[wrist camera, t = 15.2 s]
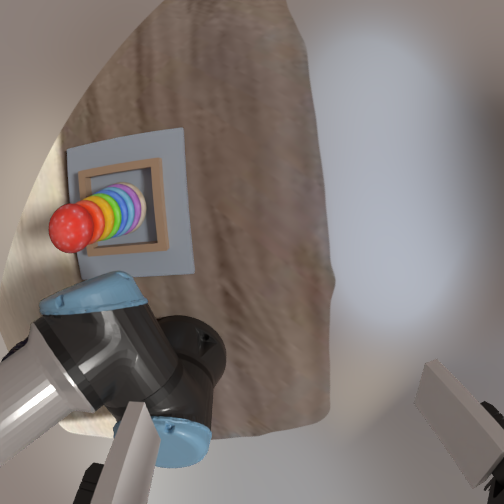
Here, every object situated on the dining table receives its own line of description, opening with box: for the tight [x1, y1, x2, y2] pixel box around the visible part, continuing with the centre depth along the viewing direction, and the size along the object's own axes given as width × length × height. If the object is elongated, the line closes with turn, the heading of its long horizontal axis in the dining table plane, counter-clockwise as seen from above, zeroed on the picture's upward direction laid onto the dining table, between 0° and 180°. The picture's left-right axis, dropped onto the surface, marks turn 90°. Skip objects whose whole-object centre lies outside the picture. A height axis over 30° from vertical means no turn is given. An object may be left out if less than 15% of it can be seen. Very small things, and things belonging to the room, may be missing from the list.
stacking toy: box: [49, 182, 146, 253], centre depth 32 cm, size 8×8×19 cm
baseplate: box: [67, 128, 195, 280], centre depth 41 cm, size 22×20×3 cm
